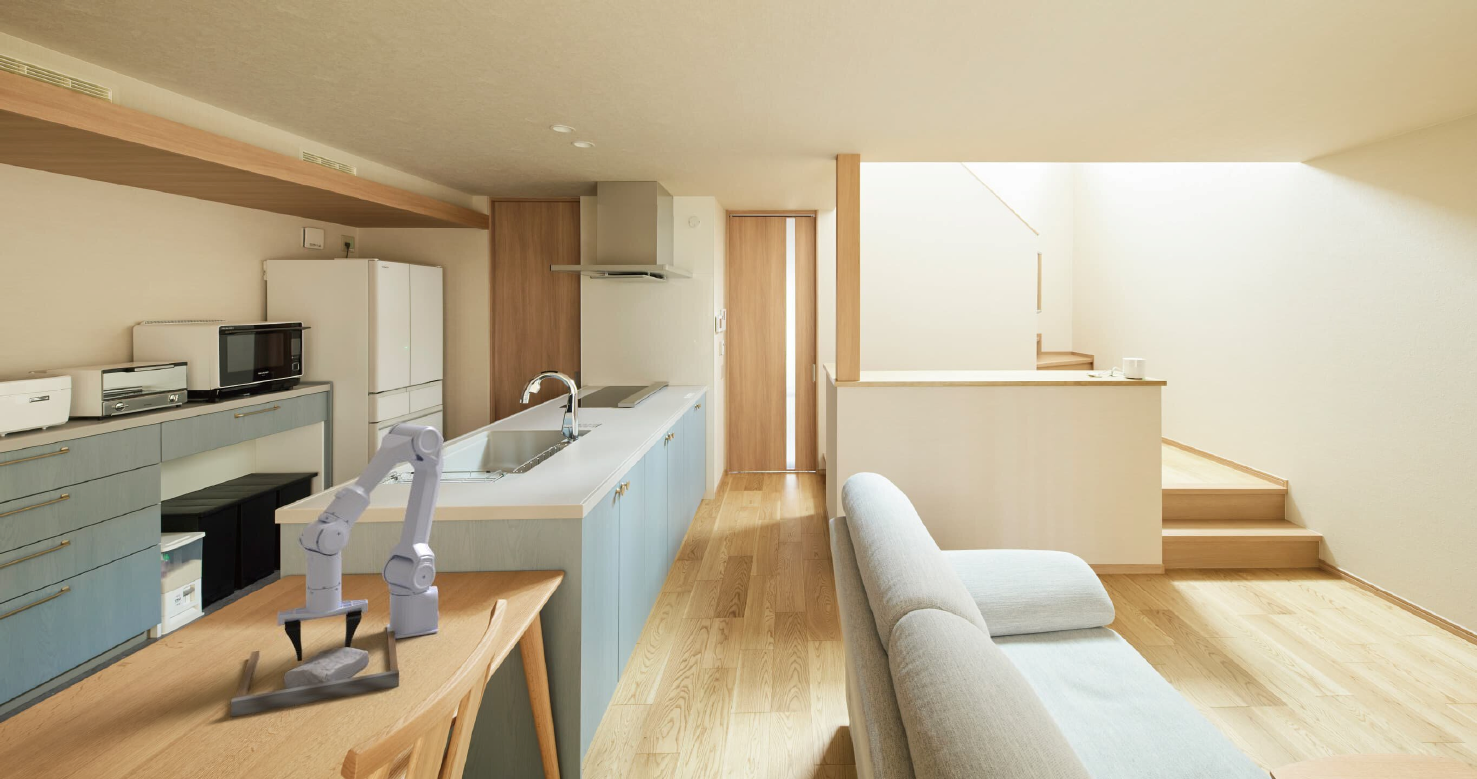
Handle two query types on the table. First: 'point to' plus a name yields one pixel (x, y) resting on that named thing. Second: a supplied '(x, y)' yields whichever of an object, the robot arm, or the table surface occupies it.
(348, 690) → the u-shaped frame
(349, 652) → the stone block
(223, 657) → the table surface
